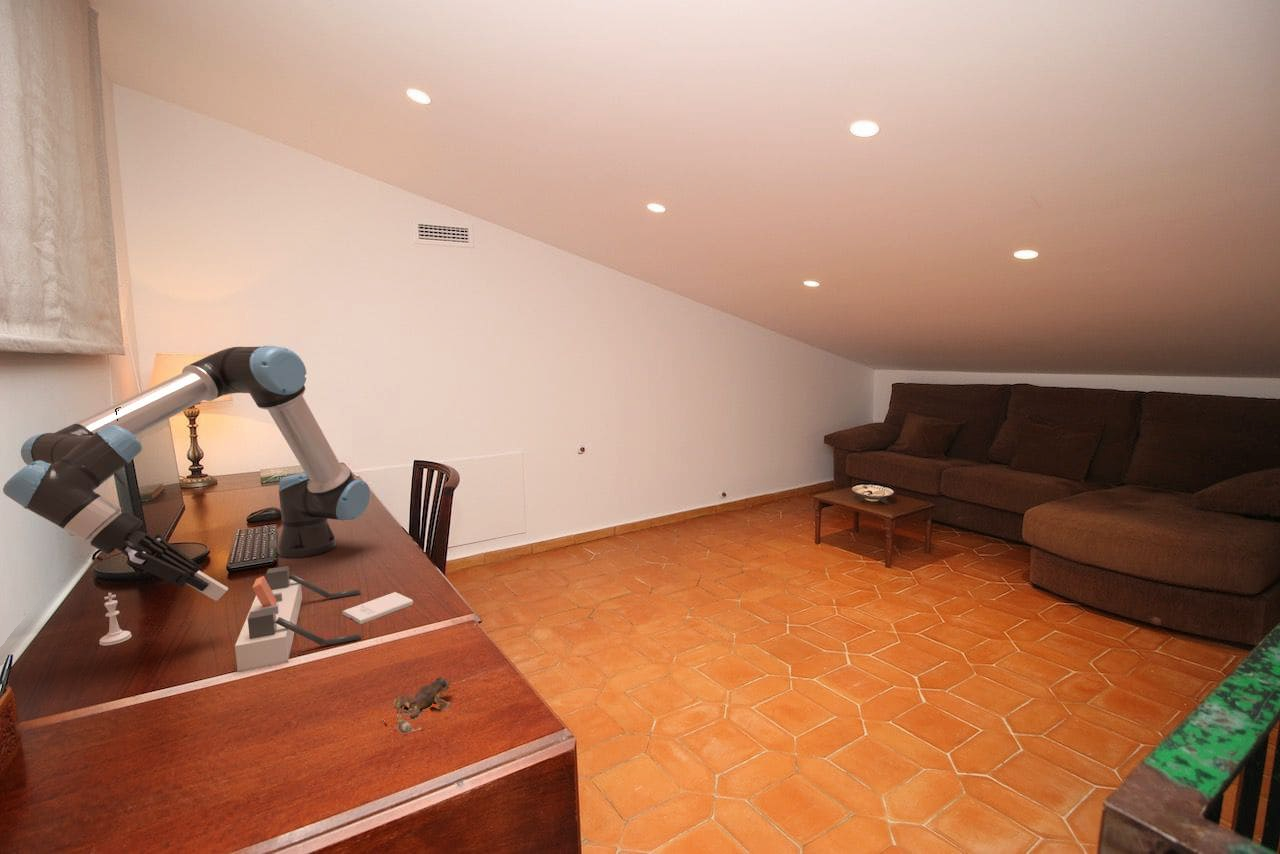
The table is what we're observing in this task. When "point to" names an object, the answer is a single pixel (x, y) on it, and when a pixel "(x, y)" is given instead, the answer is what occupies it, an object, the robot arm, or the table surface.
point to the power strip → (279, 622)
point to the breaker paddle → (264, 592)
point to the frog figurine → (420, 702)
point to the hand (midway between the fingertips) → (222, 594)
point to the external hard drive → (378, 607)
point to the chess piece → (113, 625)
